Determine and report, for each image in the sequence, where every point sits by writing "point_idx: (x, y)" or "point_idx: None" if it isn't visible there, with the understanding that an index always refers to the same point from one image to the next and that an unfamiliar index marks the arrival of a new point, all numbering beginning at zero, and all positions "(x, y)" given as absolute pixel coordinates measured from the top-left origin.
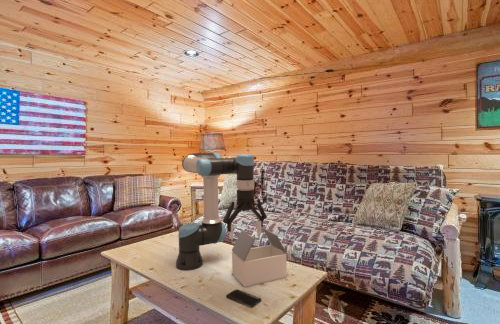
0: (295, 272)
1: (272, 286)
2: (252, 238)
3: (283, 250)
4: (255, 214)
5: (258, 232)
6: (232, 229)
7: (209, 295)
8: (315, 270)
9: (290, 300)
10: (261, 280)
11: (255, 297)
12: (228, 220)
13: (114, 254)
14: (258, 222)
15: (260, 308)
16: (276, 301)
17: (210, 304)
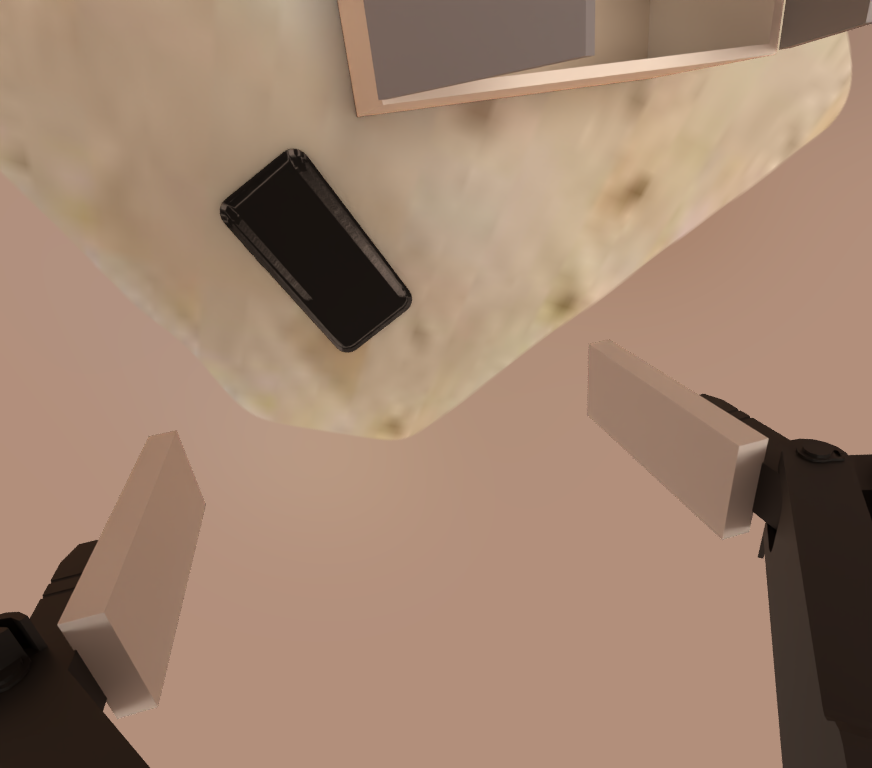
0: None
1: (523, 167)
2: (573, 4)
3: (790, 23)
4: (789, 590)
5: (602, 394)
6: (169, 620)
7: (100, 150)
8: (845, 49)
9: (540, 331)
10: (484, 99)
11: (388, 276)
12: (2, 738)
13: None
14: (702, 476)
15: (385, 362)
16: (477, 324)
17: (115, 264)
